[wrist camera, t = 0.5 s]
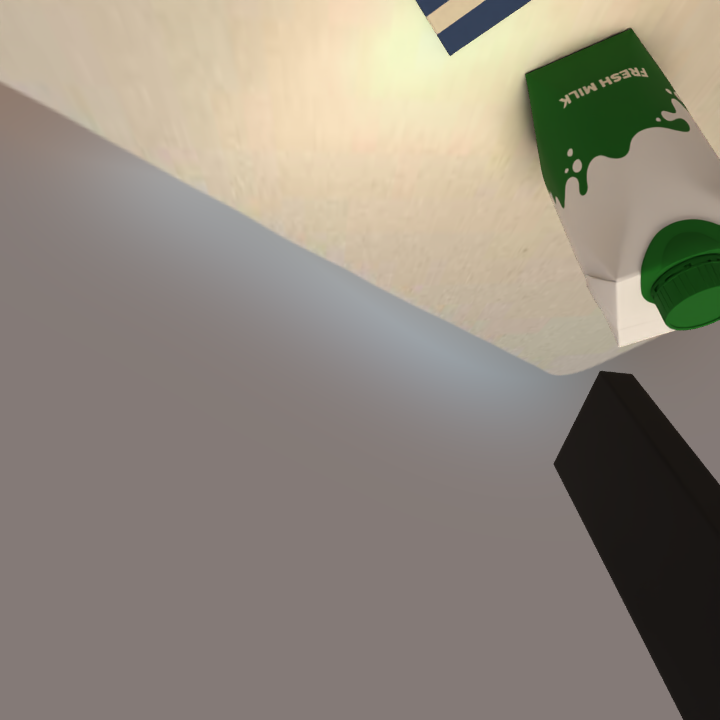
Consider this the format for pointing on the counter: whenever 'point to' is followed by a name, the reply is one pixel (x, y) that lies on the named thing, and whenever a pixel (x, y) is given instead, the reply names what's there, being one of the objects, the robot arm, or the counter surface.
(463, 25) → the cloth
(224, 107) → the counter surface
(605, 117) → the milk carton
